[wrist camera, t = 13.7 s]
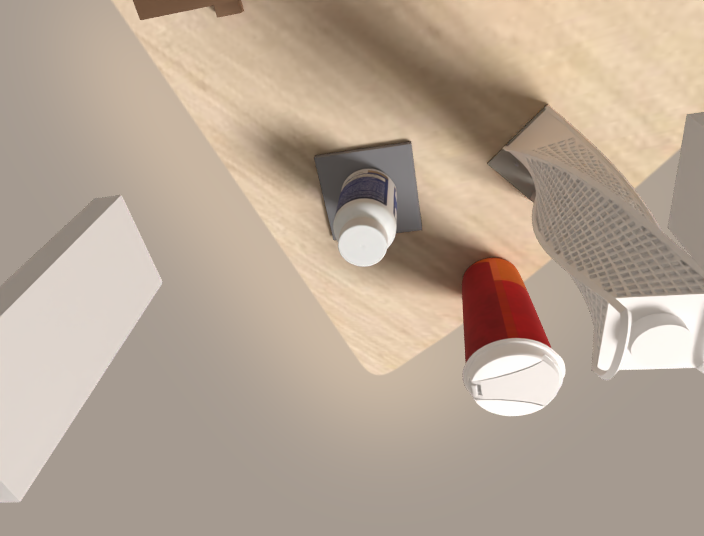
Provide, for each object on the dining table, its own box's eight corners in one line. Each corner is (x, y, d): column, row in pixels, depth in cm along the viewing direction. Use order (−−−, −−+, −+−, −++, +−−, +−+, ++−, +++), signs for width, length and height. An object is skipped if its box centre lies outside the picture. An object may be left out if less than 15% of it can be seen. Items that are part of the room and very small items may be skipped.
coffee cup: (456, 315, 58) (469, 424, 46) (446, 254, 54) (458, 356, 42) (534, 305, 57) (569, 416, 44) (530, 241, 52) (569, 344, 40)
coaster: (315, 155, 49) (314, 158, 49) (411, 141, 47) (411, 144, 47) (334, 237, 54) (333, 240, 53) (421, 227, 52) (422, 229, 52)
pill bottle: (329, 188, 50) (315, 241, 42) (372, 155, 48) (366, 204, 40) (365, 227, 52) (358, 284, 44) (408, 197, 50) (409, 252, 42)
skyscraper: (475, 152, 48) (540, 377, 25) (545, 81, 44) (699, 271, 21) (538, 205, 50) (651, 454, 27) (610, 143, 46) (812, 373, 23)
